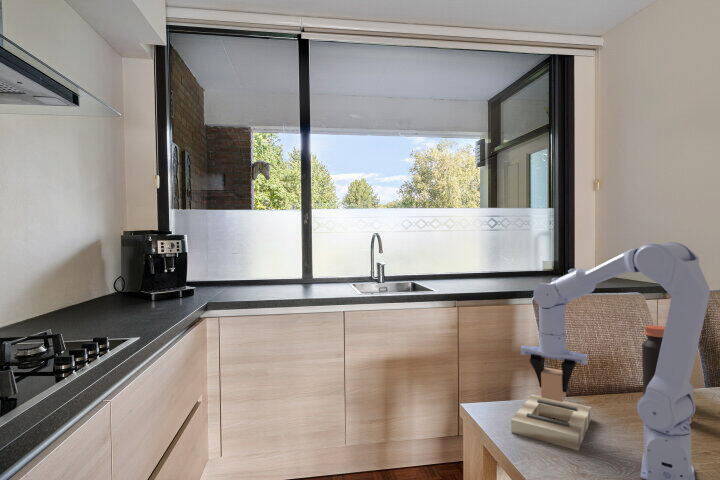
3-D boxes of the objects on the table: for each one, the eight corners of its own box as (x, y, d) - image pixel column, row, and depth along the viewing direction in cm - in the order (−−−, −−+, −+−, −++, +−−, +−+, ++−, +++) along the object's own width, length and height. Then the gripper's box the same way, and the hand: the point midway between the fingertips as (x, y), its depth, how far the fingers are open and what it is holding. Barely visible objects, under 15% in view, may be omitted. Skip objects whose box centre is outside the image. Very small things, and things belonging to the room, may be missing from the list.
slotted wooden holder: (578, 450, 85) (578, 434, 85) (511, 432, 93) (511, 417, 93) (591, 418, 99) (591, 404, 99) (532, 405, 107) (531, 392, 107)
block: (562, 401, 93) (561, 376, 93) (541, 397, 96) (541, 372, 96) (566, 395, 96) (565, 370, 96) (546, 391, 99) (545, 367, 99)
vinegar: (674, 407, 104) (672, 331, 104) (642, 401, 108) (641, 328, 108) (673, 398, 110) (672, 326, 110) (643, 393, 114) (642, 323, 114)
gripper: (589, 332, 95) (590, 389, 95) (525, 325, 104) (526, 377, 104) (584, 339, 89) (585, 399, 89) (517, 331, 98) (518, 386, 98)
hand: (553, 388), depth 96 cm, fingers closed on block, 4 cm apart
